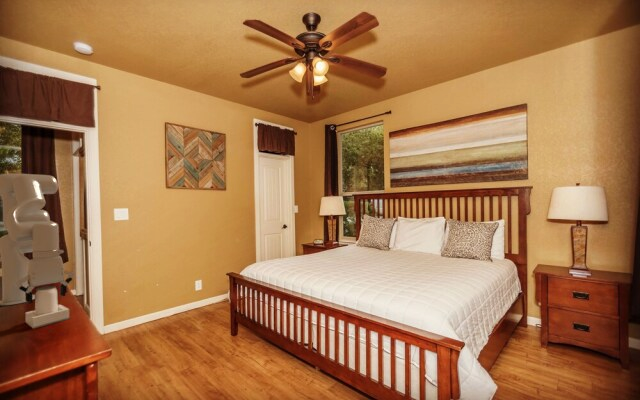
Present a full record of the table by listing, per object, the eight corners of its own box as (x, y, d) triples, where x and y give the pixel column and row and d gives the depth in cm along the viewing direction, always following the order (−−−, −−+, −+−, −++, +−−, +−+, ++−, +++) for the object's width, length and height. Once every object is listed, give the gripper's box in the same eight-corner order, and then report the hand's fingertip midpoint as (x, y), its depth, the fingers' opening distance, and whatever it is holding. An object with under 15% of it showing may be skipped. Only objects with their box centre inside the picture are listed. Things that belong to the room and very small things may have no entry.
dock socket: (25, 322, 115) (25, 312, 115) (60, 313, 123) (60, 304, 123) (33, 328, 109) (33, 318, 109) (69, 318, 118) (69, 309, 118)
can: (44, 323, 112) (43, 290, 112) (30, 321, 114) (30, 290, 114) (62, 316, 119) (61, 285, 119) (49, 315, 120) (48, 285, 120)
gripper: (70, 250, 126) (71, 291, 126) (12, 257, 111) (13, 303, 111) (77, 252, 121) (78, 294, 121) (17, 259, 107) (18, 307, 107)
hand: (46, 298), depth 116 cm, fingers open, 9 cm apart
